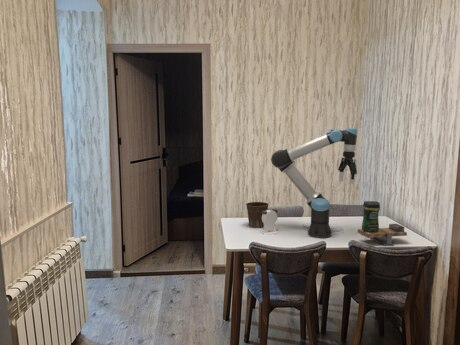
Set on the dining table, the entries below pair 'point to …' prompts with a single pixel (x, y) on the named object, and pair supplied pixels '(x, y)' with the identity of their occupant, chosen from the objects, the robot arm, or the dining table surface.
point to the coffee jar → (371, 216)
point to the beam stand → (384, 240)
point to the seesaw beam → (385, 231)
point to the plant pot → (256, 213)
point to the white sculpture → (269, 221)
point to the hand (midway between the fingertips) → (346, 182)
